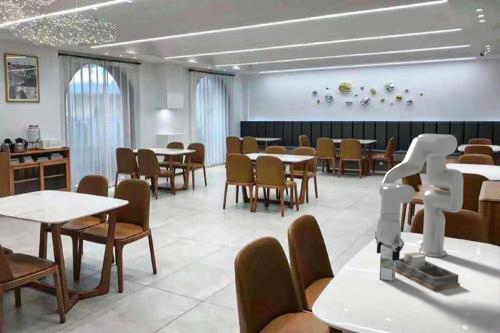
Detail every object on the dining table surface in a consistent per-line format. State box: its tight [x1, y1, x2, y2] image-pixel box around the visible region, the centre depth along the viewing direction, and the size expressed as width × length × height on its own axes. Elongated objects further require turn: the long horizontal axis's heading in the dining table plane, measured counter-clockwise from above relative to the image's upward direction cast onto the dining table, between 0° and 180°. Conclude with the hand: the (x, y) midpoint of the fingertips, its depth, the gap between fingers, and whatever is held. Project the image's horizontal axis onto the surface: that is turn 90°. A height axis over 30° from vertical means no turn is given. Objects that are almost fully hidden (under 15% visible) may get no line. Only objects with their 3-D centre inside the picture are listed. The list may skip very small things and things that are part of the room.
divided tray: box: [395, 251, 461, 292], centre depth 186 cm, size 25×14×8 cm, turn 22°
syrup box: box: [379, 243, 397, 282], centre depth 184 cm, size 6×6×14 cm
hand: (387, 256), depth 184 cm, fingers open, 9 cm apart
